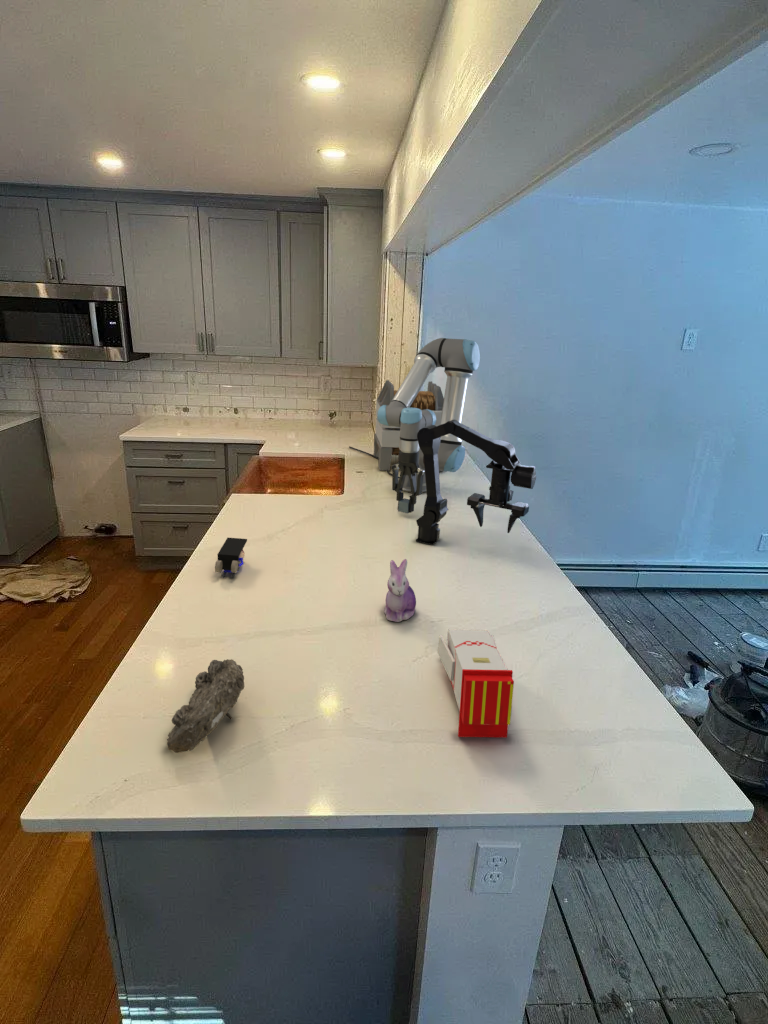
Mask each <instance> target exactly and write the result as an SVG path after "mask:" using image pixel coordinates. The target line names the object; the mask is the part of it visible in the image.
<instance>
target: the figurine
mask: <svg viewBox="0 0 768 1024" xmlns="http://www.w3.org/2000/svg"><path fill="white" fill-rule="evenodd" d="M407 567H408V559H406V558H404V559H403V560H402V561H401V563H400V565H399V566H398V565H397V563H396V562H395V561H394V560H393V559H391V560H390V561H389V570H390V576H389V578H388V579H387V589H388V591H387V592H386V594H385V595H386V596H385V607H384V615H385V616H386V620H387V621H391V622H395V623H400V622H402V621H406V620H409V619H410V618H411V617H413V616H414V615H415V610H416V606H417V597H416V593H415V591H414V590H413V587H411V586H410V582H409V579H408V577H407V574H406V571H407Z"/></svg>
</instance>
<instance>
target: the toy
mask: <svg viewBox="0 0 768 1024" xmlns="http://www.w3.org/2000/svg"><path fill="white" fill-rule="evenodd" d="M446 640H447V643H446V641H445V639H444V636H443V635H442V634H439V637H438V646H437V656H438V657H439V659H440V661H441V663H442V666H443V668H444V670H445V672H446V674H447V677H448V679H449V681H450V684H451V687H452V690H453V693H454V697H455V701H456V705H457V708H458V711H459V714H458V715H459V716H458V730H457V731H458V732H457V737H458V738H508V731H509V726H510V725H511V717H512V707H513V697H514V696H513V695H514V684H515V680H514V679H513V673H514V671H513V670H512V669H508V667H507V665H506V662H505V661H504V659H503V658H502V655H501V653H500V651H499V649H498V647H497V643H496V639H495V637H494V635H493V634H491V632H490V631H489V629H467V628H466V629H465V628H463V629H461V628H460V629H459V628H448V630H447V639H446Z"/></svg>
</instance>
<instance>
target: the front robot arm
mask: <svg viewBox="0 0 768 1024" xmlns="http://www.w3.org/2000/svg"><path fill="white" fill-rule="evenodd" d="M447 434H452V435H454V436H456V437H458V438H460V439H461V440H462V441H464V442H465V443H468V444H470V445H471V446H473V447H475V448H477V449H479V450H481V451H482V452H484V453H485V455H486V456H487V457H488V458H490V459H491V461H490V462H489V463H488V464H486V465H485V468H486V469H491V477H490V478H491V479H490V486H489V488H488V491H489V497H488V498H486V496H485V494H483V493H477V492H474V493H472V494H471V495H469V496H468V497H467V499H466V506H469V507H470V509H472V510H473V512H474V514H475V516H476V519H477V522H478V524H479V527H480V528H482V527H483V525H484V511H485V506H490V507H495V508H499V509H503V510H509V511H510V515H509V518H508V524H507V534H510V533H511V530H512V529H513V526H514V524H515V523H516V521H517V519H520V518H522V517H525V516H526V515H527V514H528V513H529V512H530V511H529V510H530V506H529V503H526V502H521V501H516V502H515V503H510V502H511V501H512V500H513V495H514V490H511V485H513V487H517V488H523V489H527V490H533V489H534V487H535V484H536V481H537V472H536V466H534V465H524V464H523V465H522V464H521V461H520V459H519V457H518V455H516V448H515V445H513V443H510V442H508V441H505V440H502V439H497V438H492V437H489V436H487V435H485V434H483V433H482V432H479V431H477V430H476V429H473V428H471V427H469V426H468V425H466V424H463V423H462V422H461V423H459V422H458V421H457V420H450V421H448V422H446V423H444V424H441V425H439V426H435V425H429V426H427V427H424V428H422V429H420V430H419V432H418V433H417V439H418V444H419V447H420V449H421V451H422V453H423V455H424V467H425V480H426V492H425V493H426V498H425V502H424V504H423V505H424V506H423V513H422V515H421V516H420V517H419V518H417V519H416V520H415V521H416V526H417V538H416V539H415V542H417V543H421V544H425V545H430V546H435V544H436V543H437V542H438V541H439V540H440V532H441V528H439V526H440V524H439V522H441V520H442V519H444V517H446V515H447V512H448V511H449V507H448V499H447V498H443V496H442V493H441V481H440V471H439V466H438V449H439V446H440V441H441V437H442V436H444V435H447ZM510 483H511V485H510Z"/></svg>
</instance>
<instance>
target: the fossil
mask: <svg viewBox="0 0 768 1024" xmlns="http://www.w3.org/2000/svg"><path fill="white" fill-rule="evenodd" d="M243 670H244V669H243V667H242V665H240V664H237V662H236V661H235V660H234V659H232V658H231V659H227V658H226V659H224V660H223V661H222V660H217V659H212V660H211V661H210V663H209V665H208V666H207V671H201V672H199V673H198V674H197V675H196V676H195V680H194V684H195V685H194V687H195V689H194V690H193V693H192V694H191V697H190V698H189V700H188V704H184V705H182V706H181V707H180V709H177V710H176V711H175V713H174V715H173V716H172V718H171V723H172V724H173V727H172V730H171V731H170V732H168V734H167V738H166V741H167V742H166V745H167V749H168V750H169V751H173V752H174V753H176V754H178V753H182V752H188V751H189V752H192V751H193V750H195V748H196V747H197V746H199V744H200V743H201V742H203V741H204V740H205V739H206V738H207V737H208V736H209V735H210V734H211V733H212V732H214V730H215V729H217V727H218V726H219V724H220V722H221V721H222V720H223V719H224V718H225V716H226V717H227V719H229V720H233V717H232V715H230V714H229V710H230V709H231V708H234V706H235V704H236V703H237V702H238V699H239V697H240V695H241V693H242V691H243V690H245V689H244V688H245V675H244V671H243Z"/></svg>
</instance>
